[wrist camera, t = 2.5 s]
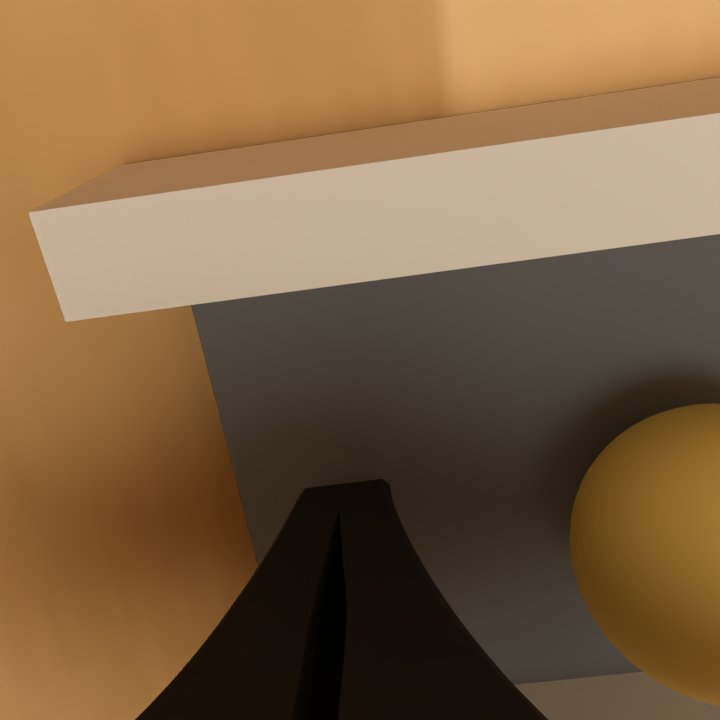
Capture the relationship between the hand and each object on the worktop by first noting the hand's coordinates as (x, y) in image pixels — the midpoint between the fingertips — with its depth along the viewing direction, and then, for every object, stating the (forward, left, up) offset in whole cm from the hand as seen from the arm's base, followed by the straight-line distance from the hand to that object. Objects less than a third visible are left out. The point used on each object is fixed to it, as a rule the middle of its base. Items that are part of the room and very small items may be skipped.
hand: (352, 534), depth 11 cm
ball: (0, -5, -1) cm, 5 cm away
